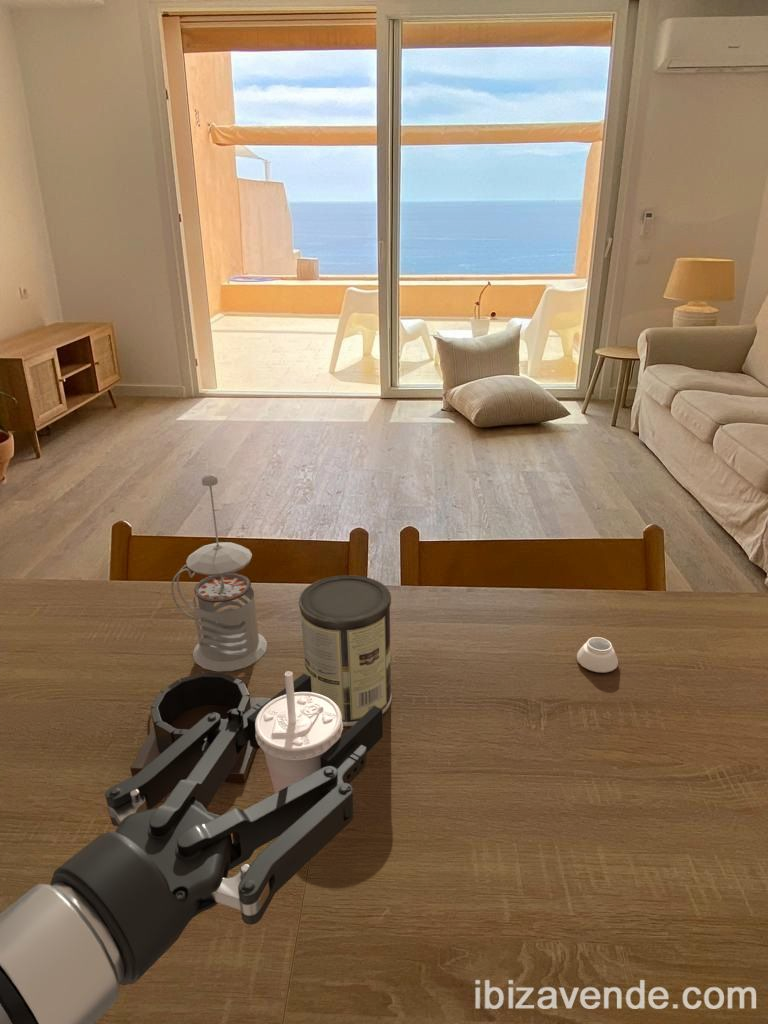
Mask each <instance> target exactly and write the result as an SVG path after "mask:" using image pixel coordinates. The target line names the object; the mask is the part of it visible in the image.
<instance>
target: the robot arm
mask: <svg viewBox="0 0 768 1024" xmlns="http://www.w3.org/2000/svg"><path fill="white" fill-rule="evenodd" d="M293 684H294V693H295V692H312V689H311V676H308V675H306V673H302V674H301V675H300V676H299V677H297V678H296V679H295V680H293ZM283 695H286V687H284V688H283V689H282V690H280V691H279V692H278V693H276V695H274V696H273V697H272V698H270V699H271V700H270V699H268V698H269V697H265V698H266V699H263V700H261V701H260V702H258V703H257V704H256V705H255V706H253V707H252V708H251V709H249V710H248V711H247V712H245V713H244V714H243V713H242V711H241V710H240V709H231V710H229V711H228V712H227V716H228V720H225V719H221V718H220V715H219V714H218V713H209V714H207V715H206V716H205V717H204V718H202V719H201V720H200V721H199V722H198V723H197V724H195V725H194V726H193V727H192V728H191V729H189V730H188V731H187V732H186V733H185V734H184V735H182V736H181V737H180V738H179V739H178V740H176V741H175V742H174V743H173V744H172V745H171V746H169V747H168V748H167V749H166V750H165V751H163V752H162V753H161V754H160V755H159V756H158V757H156V758H155V759H154V760H153V761H152V762H150V763H149V764H148V765H147V766H146V767H145V768H143V769H142V770H141V771H140V772H139V773H138V774H136V775H135V776H131V777H129V778H126V779H125V780H123V781H121V782H119V783H117V784H115V785H113V786H111V787H110V788H108V789H107V790H106V791H105V793H104V796H105V800H106V805H107V810H108V813H109V816H110V817H109V818H110V822H111V825H112V826H114V827H117V828H116V829H115V831H114V832H112V831H110V832H109V831H108V832H104V833H102V834H100V835H98V836H97V837H95V838H94V839H93V840H92V841H90V842H89V843H88V844H87V845H85V846H84V847H83V848H81V849H80V850H79V851H78V852H77V853H75V854H74V855H73V856H72V857H70V858H69V859H68V860H66V861H65V862H64V863H62V865H60V866H59V867H57V868H55V870H54V871H53V875H52V878H51V880H50V884H48V883H47V884H46V883H37V884H36V885H33V887H31V888H30V889H29V890H28V891H27V892H26V893H24V894H23V895H22V896H20V897H19V898H18V899H16V900H15V901H14V902H12V903H11V904H10V905H9V906H8V907H7V908H6V909H4V910H3V911H2V912H0V1024H95V1023H96V1022H98V1020H99V1019H100V1018H101V1017H102V1016H103V1015H104V1014H105V1013H106V1012H107V1011H108V1010H109V1009H110V1008H111V1007H112V1006H113V1005H114V1004H115V1003H116V1002H117V1001H118V999H119V994H120V985H121V986H128V985H134V984H136V983H137V982H138V981H139V980H140V979H141V978H142V977H143V976H144V974H146V973H147V972H148V971H149V970H150V968H152V967H153V966H154V964H155V963H157V961H158V960H159V959H160V958H162V956H164V954H165V953H166V952H167V951H169V949H170V948H171V947H172V946H174V944H175V943H176V942H177V941H178V940H179V938H180V936H181V935H182V934H183V932H184V930H185V929H186V928H187V926H188V925H189V923H190V922H191V920H192V919H194V918H195V917H196V916H198V915H199V914H201V913H203V912H207V911H208V910H211V909H212V908H214V907H215V906H216V905H218V904H220V905H223V906H226V907H229V908H231V909H233V910H237V911H239V912H240V914H241V919H242V921H243V922H244V924H246V925H249V926H252V925H256V924H258V923H259V922H260V921H261V920H262V918H263V916H264V915H265V912H266V911H267V910H268V907H269V905H270V904H271V901H272V900H273V898H274V896H275V895H276V893H278V892H279V890H280V889H282V887H284V886H285V885H286V884H287V883H288V882H289V881H290V880H291V879H292V878H293V877H294V876H296V874H298V873H299V872H300V871H301V870H302V869H303V868H304V867H305V866H306V865H307V864H308V863H309V862H310V861H311V860H313V858H314V857H316V855H317V854H319V853H320V852H321V851H322V850H323V849H324V848H325V847H326V846H327V845H329V844H330V842H331V841H332V840H334V839H335V838H336V837H337V836H338V835H339V834H340V833H341V832H342V831H343V830H344V829H345V828H346V827H347V826H348V825H350V824H351V822H352V821H353V820H354V818H355V808H354V805H355V804H354V788H353V785H351V783H352V782H353V781H354V780H355V778H357V776H359V775H360V773H361V772H362V771H363V770H364V769H365V768H366V766H367V763H368V753H369V751H371V749H373V747H375V745H376V744H378V742H379V741H380V740H381V739H382V738H383V736H384V735H383V731H384V730H383V714H382V709H381V708H379V707H376V706H373V707H372V708H371V709H370V710H369V711H368V712H367V713H366V714H365V715H364V716H363V717H362V718H361V719H360V720H359V721H357V722H356V723H355V724H354V725H353V726H350V728H349V729H348V730H347V731H346V732H345V733H343V734H342V735H341V737H340V738H339V740H337V741H336V742H335V743H334V744H333V745H332V746H331V747H330V748H329V749H328V750H327V751H326V752H325V753H324V754H323V755H322V756H321V757H320V761H321V769H320V770H318V771H316V772H314V773H312V774H310V775H308V776H306V777H305V778H303V779H301V780H299V781H297V782H295V783H293V784H291V785H290V786H288V787H286V788H284V789H282V790H280V791H278V792H276V793H275V792H274V793H273V794H270V795H269V796H267V797H264V798H263V799H261V800H260V801H258V802H256V803H254V804H252V805H249V806H248V807H246V808H244V809H241V808H239V807H235V808H233V809H231V810H228V811H227V812H225V813H223V814H221V815H220V814H217V813H215V812H214V813H213V812H210V811H208V810H207V809H208V807H209V805H210V804H211V802H212V801H213V800H214V798H215V796H216V795H217V794H218V792H219V790H220V789H221V787H222V785H223V784H224V782H226V781H225V779H226V778H227V776H228V775H229V773H230V772H231V770H232V768H233V767H234V765H235V764H236V762H237V761H238V759H239V758H240V756H241V755H242V753H243V751H244V750H245V748H246V742H248V741H249V740H250V746H251V747H253V748H255V749H256V751H258V750H260V749H261V747H260V746H259V745H258V743H257V740H256V737H255V734H256V728H255V722H256V718H257V715H258V714H259V712H260V711H261V709H262V708H263V707H264V706H265V705H266V704H268V703H269V702H270V701H272V700H274V699H276V698H278V697H280V696H283ZM206 736H207V738H206V739H204V738H205V737H206ZM185 778H187V779H185ZM166 797H167V798H166ZM165 798H166V799H165ZM164 799H165V801H164V802H163V804H162V805H159V804H160V803H161V802H162V801H163V800H164ZM157 805H159V806H158V807H157ZM271 841H272V842H271ZM267 843H269V844H268V845H267V846H266V847H264V849H262V850H261V852H259V853H258V855H257V856H256V857H255V858H254V859H253V861H252V862H251V864H248V863H245V862H246V861H248V860H250V858H251V857H252V856H253V854H254V852H255V851H256V850H257V849H259V848H261V847H263V846H264V845H266V844H267ZM243 863H244V864H243ZM241 864H242V865H241ZM239 865H241V866H240V868H239V871H238V872H237V873H236V874H235V875H234V876H231V877H228V876H229V871H231V870H233V869H234V868H236V867H237V866H239Z"/></svg>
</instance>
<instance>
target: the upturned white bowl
mask: <svg viewBox="0 0 768 1024" xmlns="http://www.w3.org/2000/svg"><path fill="white" fill-rule="evenodd" d="M576 660H577V662H578V664H580V666H581V667H583V668H585V670H589V671H591V672H595V673H609V672H613V671H614V670H615V669H617V668H618V664H619V659H618V657H617V654H616V652H615V649H614V647H613V644H612V642H611V641H610V640H608V639H607V638H604V637H599V636H593V637H589V638H588V639H587V640H586V642H585V643H584V644H583V645H581V648H580V649H579V650H578V652H577V654H576Z"/></svg>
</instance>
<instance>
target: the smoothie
mask: <svg viewBox="0 0 768 1024" xmlns="http://www.w3.org/2000/svg"><path fill="white" fill-rule="evenodd" d="M293 681H294V673H293V671H290V670H288V671H285V673H284V682H285V688H286V695H283V696H280V697H278V698H276V699H274V700H272V701H270V702H269V703H268V704H266V705H265V706H264V707H263V708H262V709H261V711H260V712H259V714H258V715H257V718H256V722H255V728H256V734H255V737H256V740H257V743H258V745H259V746H260V749H261V750H262V751H263V754H264V759H265V762H266V766H267V769H268V773H269V777H270V781H271V785H272V788H273V791H274V793H276V792H278V791H280V790H282V789H284V788H286V787H288V786H290V785H291V784H293V783H295V782H297V781H299V780H301V779H303V778H305V777H306V776H308V775H310V774H312V773H314V772H316V771H318V770H320V769H321V761H320V757H321V756H322V755H323V754H324V753H325V752H326V751H327V750H328V749H329V748H330V747H331V746H332V745H333V744H334V743H335V742H336V741H337V740H339V739H340V738H341V737H342V733H343V729H344V726H343V725H342V717H341V712H340V709H339V708H338V706H337V705H336V704H335V703H334V702H333V701H332V700H331V699H329V698H327V697H325V696H323V695H320V694H317V693H312V692H295V693H294V684H293Z"/></svg>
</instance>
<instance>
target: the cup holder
mask: <svg viewBox="0 0 768 1024" xmlns="http://www.w3.org/2000/svg"><path fill="white" fill-rule="evenodd" d="M266 698H268V699H270V700H271V699H272V698H271V697H257V696H256V697H255V696H251V695H250V693H249V691H248V688H247V686H246V684H245V682H243V680H241V679H239V678H237V677H235V676H232V675H231V674H228V673H225V672H206V671H205V672H199V673H195V674H192V675H188V676H185V677H180V679H177V680H175V681H173V682H172V683H171V684H169V685H167V686H166V687H164V688H163V689H161V690H160V692H158V693H157V695H156V697H155V699H154V701H153V703H152V704H151V706H150V715H151V719H152V727H151V730H150V731H149V734H148V735H147V737H146V739H145V741H144V743H143V744H142V747H141V748H140V750H139V751H138V753H137V755H136V757H135V759H134V761H133V762H132V764H131V766H130V773H131V777H133V776H135V775H136V774H138V773H139V772H140V771H141V770H142V769H143V768H145V767H146V766H147V765H148V764H149V763H150V762H152V761H153V760H154V759H155V758H156V757H158V756H159V755H160V754H161V753H162V752H163V751H165V750H166V749H167V748H168V747H169V746H171V745H172V744H173V743H174V742H175V741H176V740H178V739H179V738H180V737H181V736H182V735H184V734H185V733H186V732H187V731H188V730H189V729H191V728H192V727H193V726H194V725H195V724H197V723H198V722H199V721H200V720H201V719H202V718H204V717H205V716H206V715H207V714H209V713H218V714H219V715H220V718H221V719H225V720H228V716H227V712H228V711H229V710H231V709H240V710H241V711H242V713H243V714H244V713H245V712H247V711H248V710H249V709H251V708H252V707H253V706H255V705H256V704H257V703H258V702H260V701H261V700H263V699H266ZM206 738H207V736H206V737H205V738H204V739H206ZM256 751H257V749H255V748H253V747H251V746H250V740H249V741H248V742H246V748H245V750H244V751H243V753H242V755H241V756H240V758H239V759H238V761H237V762H236V764H235V765H234V767H233V768H232V770H231V772H230V773H229V775H228V776H227V778H226V779H225V781H224V782H227V783H228V782H229V783H246V780H247V777H248V775H249V774H248V773H249V771H250V768H251V766H252V762H253V760H254V756H255V754H256ZM186 779H187V778H185V779H184V780H186Z"/></svg>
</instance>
